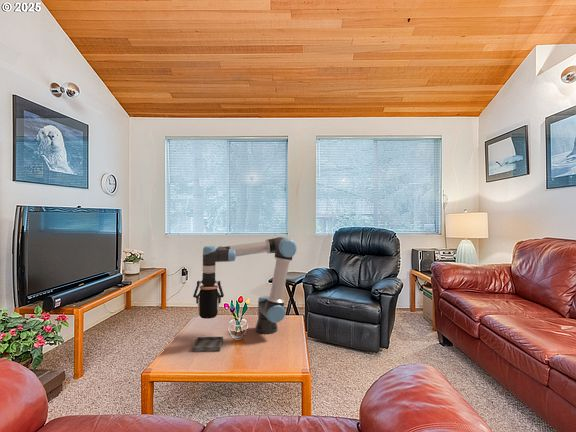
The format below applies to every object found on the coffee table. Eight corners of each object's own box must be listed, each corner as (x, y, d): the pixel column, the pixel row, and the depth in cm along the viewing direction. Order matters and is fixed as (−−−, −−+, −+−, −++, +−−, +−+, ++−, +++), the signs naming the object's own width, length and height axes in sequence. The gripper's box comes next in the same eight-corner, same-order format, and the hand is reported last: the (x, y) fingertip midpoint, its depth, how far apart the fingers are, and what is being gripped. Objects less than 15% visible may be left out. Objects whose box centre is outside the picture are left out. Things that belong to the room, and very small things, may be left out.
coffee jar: (219, 313, 206) (220, 284, 206) (214, 319, 196) (214, 288, 195) (202, 313, 207) (203, 284, 207) (196, 318, 197) (196, 287, 196)
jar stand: (223, 340, 210) (223, 336, 210) (219, 351, 195) (219, 346, 195) (197, 341, 209) (197, 336, 209) (192, 351, 194) (192, 347, 194)
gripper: (229, 271, 206) (228, 307, 206) (190, 270, 204) (190, 307, 204) (227, 273, 198) (227, 310, 199) (187, 273, 197) (187, 310, 197)
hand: (208, 308), depth 201 cm, fingers closed on coffee jar, 10 cm apart
